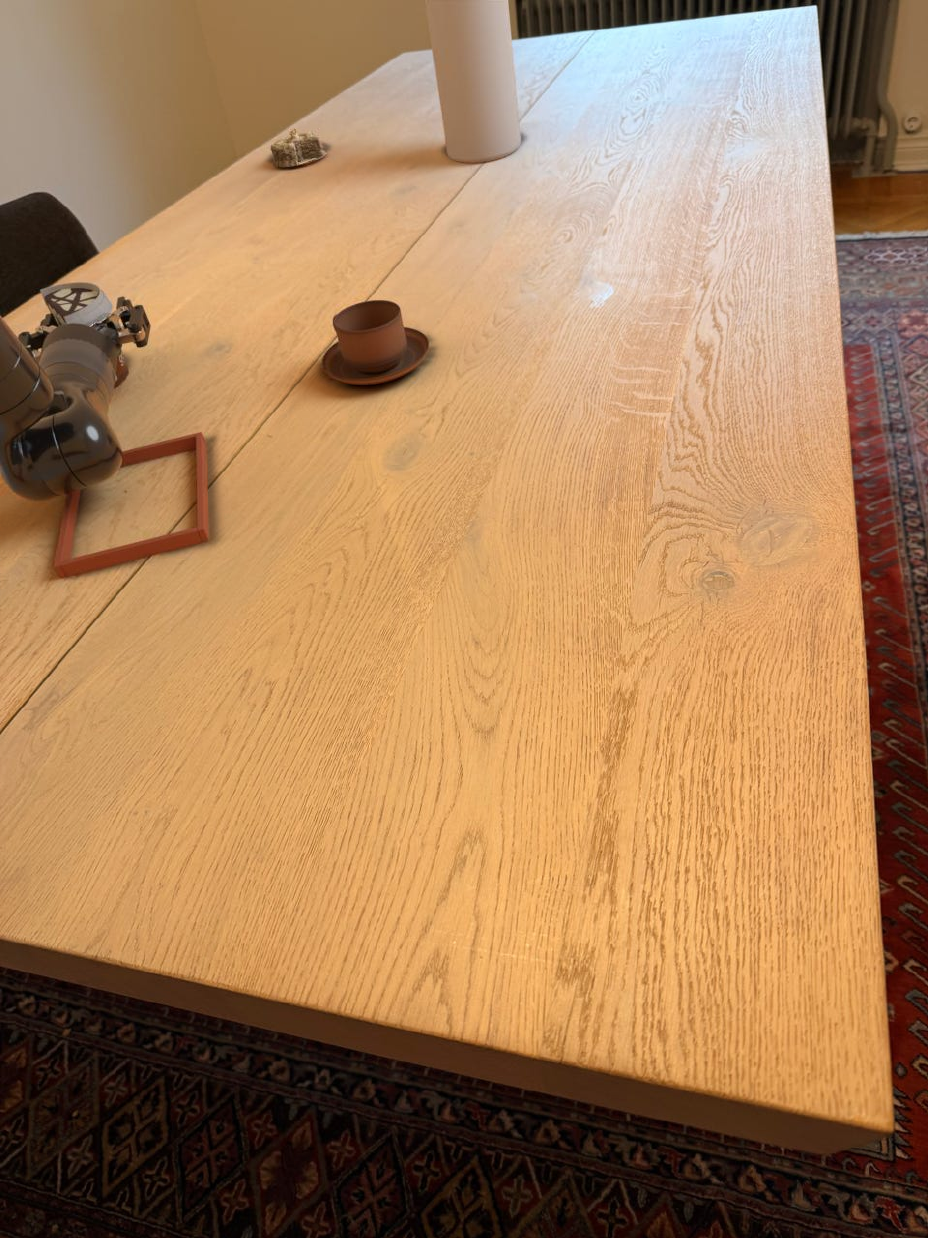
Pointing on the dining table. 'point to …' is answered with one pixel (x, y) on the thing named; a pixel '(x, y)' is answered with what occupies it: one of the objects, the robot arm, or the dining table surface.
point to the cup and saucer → (373, 344)
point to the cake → (297, 149)
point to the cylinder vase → (475, 77)
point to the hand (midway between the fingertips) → (88, 312)
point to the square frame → (145, 547)
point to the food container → (81, 311)
